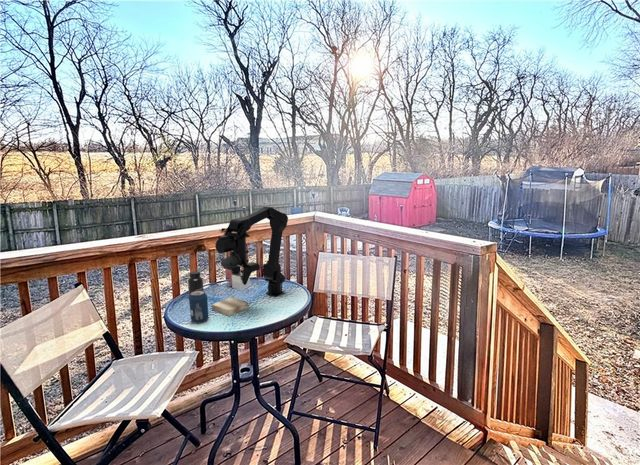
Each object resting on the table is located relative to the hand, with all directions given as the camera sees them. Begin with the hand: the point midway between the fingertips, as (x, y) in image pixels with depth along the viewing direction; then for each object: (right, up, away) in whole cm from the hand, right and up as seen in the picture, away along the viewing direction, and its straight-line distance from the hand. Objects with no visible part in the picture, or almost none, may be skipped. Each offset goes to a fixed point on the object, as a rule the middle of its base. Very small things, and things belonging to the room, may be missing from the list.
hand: (241, 283), depth 164 cm
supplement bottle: (-25, -9, +17) cm, 31 cm away
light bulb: (-10, -6, +30) cm, 32 cm away
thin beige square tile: (-5, -11, +2) cm, 12 cm away
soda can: (-15, -14, -9) cm, 22 cm away
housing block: (0, -2, 0) cm, 2 cm away
